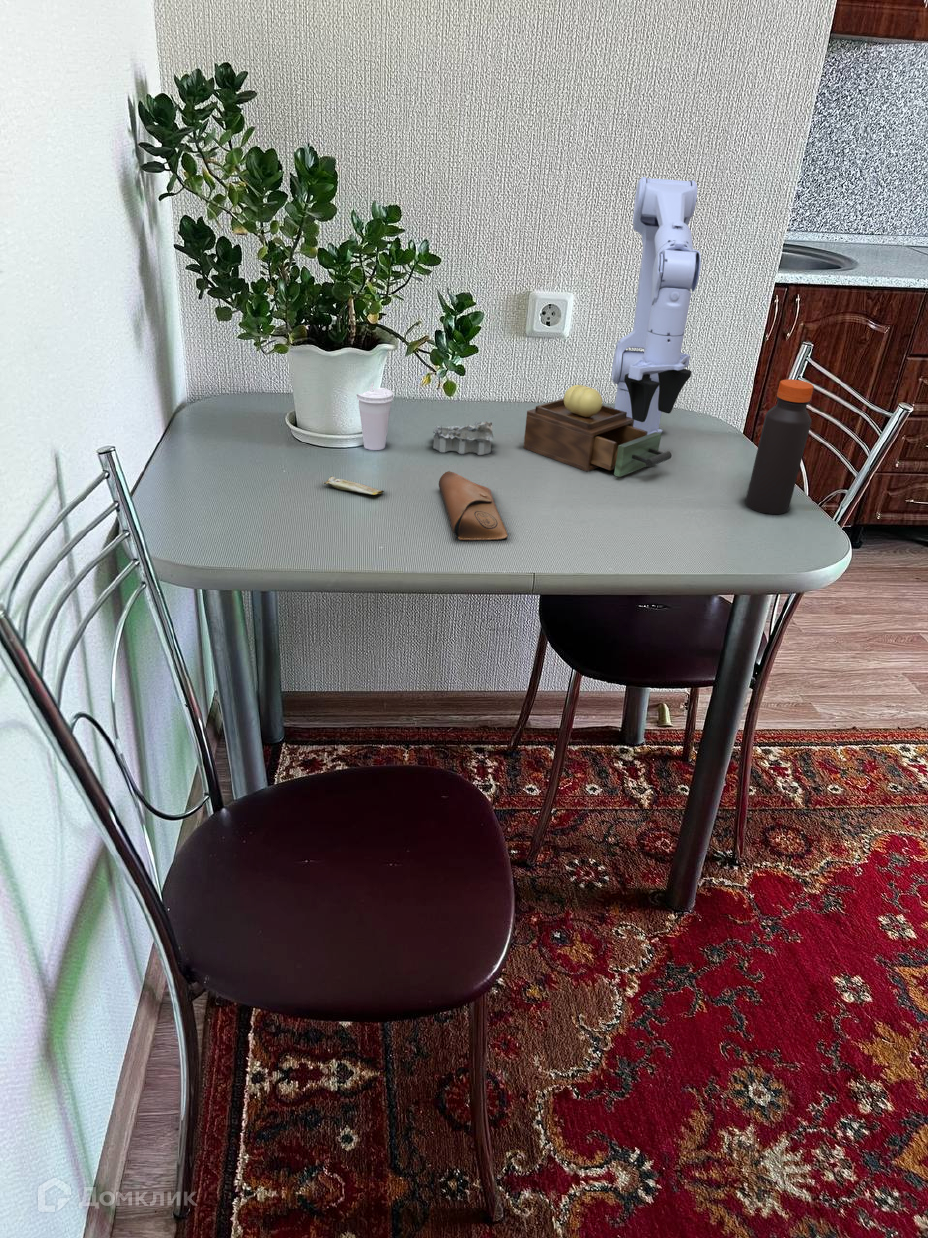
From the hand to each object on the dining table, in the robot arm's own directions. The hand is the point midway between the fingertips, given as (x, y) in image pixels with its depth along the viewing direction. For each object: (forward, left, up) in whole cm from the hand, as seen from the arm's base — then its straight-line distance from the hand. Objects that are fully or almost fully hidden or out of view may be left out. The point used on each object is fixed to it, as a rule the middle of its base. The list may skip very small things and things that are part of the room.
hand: (651, 415), depth 149 cm
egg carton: (+15, -28, -11) cm, 34 cm away
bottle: (-5, +21, -11) cm, 24 cm away
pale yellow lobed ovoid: (0, -14, -4) cm, 15 cm away
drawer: (0, -5, -10) cm, 11 cm away
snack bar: (+43, -25, -11) cm, 51 cm away
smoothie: (+27, -38, -11) cm, 48 cm away
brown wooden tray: (0, -14, -4) cm, 15 cm away
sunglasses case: (+35, -7, -11) cm, 37 cm away
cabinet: (0, -14, -11) cm, 18 cm away
